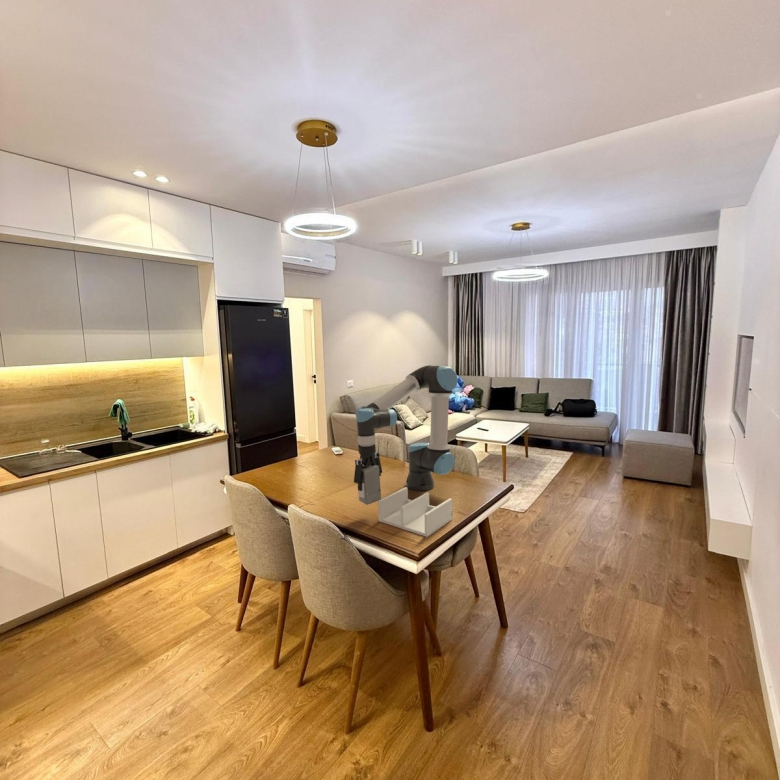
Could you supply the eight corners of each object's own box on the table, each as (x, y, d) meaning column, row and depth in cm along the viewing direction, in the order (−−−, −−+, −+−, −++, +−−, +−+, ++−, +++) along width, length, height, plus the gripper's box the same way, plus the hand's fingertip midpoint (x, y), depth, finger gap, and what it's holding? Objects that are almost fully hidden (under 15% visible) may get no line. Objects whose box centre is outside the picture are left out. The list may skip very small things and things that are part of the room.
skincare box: (366, 505, 176) (364, 470, 173) (357, 500, 182) (355, 466, 179) (382, 499, 181) (380, 465, 178) (373, 495, 186) (371, 462, 184)
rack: (405, 505, 192) (405, 487, 191) (452, 519, 177) (452, 498, 176) (378, 521, 177) (378, 500, 176) (427, 536, 161) (427, 514, 160)
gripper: (376, 437, 188) (378, 484, 191) (342, 449, 171) (346, 500, 174) (389, 439, 184) (391, 487, 187) (355, 451, 167) (359, 503, 170)
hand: (369, 493), depth 181 cm, fingers closed on skincare box, 9 cm apart
